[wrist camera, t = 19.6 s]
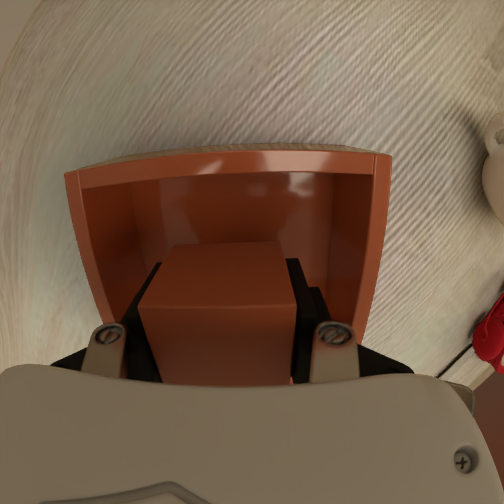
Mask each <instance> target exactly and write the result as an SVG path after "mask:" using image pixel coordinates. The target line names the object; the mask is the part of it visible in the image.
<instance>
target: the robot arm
mask: <svg viewBox="0 0 504 504" xmlns="http://www.w3.org/2000/svg"><path fill="white" fill-rule="evenodd" d="M285 261H286V264H287V268H288V272H289V276H290V280H291V284H292V288H293V292H294V296H295V300H296V304H297V310H296V324H295V336H294V348H293V358H292V369H291V377H292V380H293V384H289V385H270V386H200V385H181V384H168V383H163V380H162V378H161V375H160V373H159V370H158V367H157V365H156V362H155V359H154V357H153V354H152V351H151V348H150V345H149V342H148V339H147V336H146V333H145V330H144V327H143V324H142V321H141V318H140V314H139V311H138V304H139V302H140V300H141V299H142V297H143V295H144V293H145V292H146V290H147V288H148V286H149V285H150V283H151V281H152V279H153V278H154V276H155V274H156V273H157V271H158V269H159V268H160V266H161V264H162V263H163V262H157V263H156V264H155V266H154V268H153V269H152V271H151V272H150V274H149V276H148V277H147V279H146V280H145V282H144V284H143V285H142V287H141V289H140V290H139V291H138V292H137V294H136V295H135V297H134V299H133V300H132V302H131V304H130V305H129V307H128V309H127V311H126V312H125V314H124V316H123V317H122V319H121V321H120V323H119V322H109V323H105V324H102V325H100V326H99V327H97V328H96V329H95V330H94V331H93V333H92V335H91V338H90V341H89V344H88V347H87V348H84V349H82V350H80V351H78V352H76V353H74V354H71V355H69V356H67V357H65V358H63V359H61V360H58V361H56V362H54V363H52V364H51V365H50V366H49V365H41V364H24V365H17V366H13V367H10V368H8V369H6V370H5V371H3V372H2V373H1V374H0V504H504V492H503V488H502V484H501V481H500V478H499V475H498V473H497V470H496V467H495V464H494V462H493V459H492V457H491V454H490V452H489V449H488V447H487V445H486V442H485V440H484V438H483V435H482V434H481V431H480V430H479V428H478V426H477V424H476V422H475V420H474V409H475V396H474V394H473V392H472V390H470V389H469V388H468V387H466V386H464V385H461V384H457V383H452V382H448V381H444V380H441V379H439V378H436V377H432V376H428V375H420V374H415V373H414V372H413V370H412V369H411V368H410V367H408V366H406V365H405V364H403V363H400V362H398V361H396V360H393V359H391V358H389V357H386V356H384V355H382V354H380V353H377V352H375V351H373V350H371V349H368V348H366V347H364V346H362V345H359V344H357V339H356V333H355V330H354V329H353V328H352V327H351V326H350V325H348V324H347V323H344V322H342V321H336V320H332V318H331V316H330V313H329V311H328V308H327V306H326V303H325V301H324V298H323V296H322V293H321V291H320V288H319V287H318V286H317V287H308V284H307V281H306V278H305V275H304V272H303V270H302V267H301V264H300V261H299V259H298V258H285Z"/></svg>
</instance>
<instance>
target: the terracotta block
mask: <svg viewBox="0 0 504 504" xmlns="http://www.w3.org/2000/svg"><path fill="white" fill-rule="evenodd" d="M296 310H297V304H296V300H295V296H294V292H293V288H292V284H291V280H290V276H289V272H288V268H287V264H286V261H285V257H284V253H283V249H282V245H281V242H279V241H273V242H241V243H211V244H184V245H173V246H172V248H171V249H170V251H169V253H168V254H167V256H166V258H165V259H164V261H163V263H162V264H161V266H160V268H159V269H158V271H157V273H156V274H155V276H154V278H153V279H152V281H151V283H150V285H149V286H148V288H147V290H146V292H145V293H144V295H143V297H142V299H141V300H140V302H139V304H138V311H139V314H140V318H141V321H142V324H143V327H144V330H145V333H146V336H147V339H148V342H149V345H150V348H151V351H152V354H153V357H154V359H155V362H156V365H157V367H158V370H159V373H160V375H161V378H162V380H163V383H168V384H181V385H200V386H270V385H289V384H290V378H291V369H292V358H293V348H294V336H295V324H296Z"/></svg>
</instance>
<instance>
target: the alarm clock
mask: <svg viewBox="0 0 504 504" xmlns="http://www.w3.org/2000/svg"><path fill="white" fill-rule="evenodd" d="M503 296H504V293H503V294H502V295H501V296H500V298H499V299H498V301H497V302H496V303H495V305H494V306H493V308H492V310H491V311H490V313H489V314H488V316H487V318H485V319H483V320H482V321H481V322H480V323H479V324H478V326H477V327H476V329H475V332H474V334H473V340H472V344H473V349H474V351H475V353H476V354H477V356H478V357H479V358H480V359H481V360H482V361H486V362H488V363H490V364H491V365H492V366H493V368H494V369H495V371H496V372H498V373H500V374H503V373H504V299H503V300H502V301H501V299H502V298H503ZM500 301H501V303H500V304H499V305H498V303H499V302H500ZM497 305H498V307H497V308H496V306H497ZM495 308H496V309H495ZM494 309H495V311H494ZM493 311H494V312H493ZM492 312H493V314H492ZM491 314H492V315H491ZM490 316H491V317H490Z"/></svg>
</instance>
